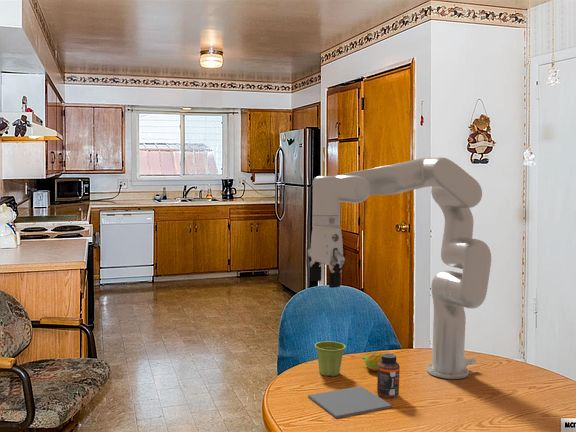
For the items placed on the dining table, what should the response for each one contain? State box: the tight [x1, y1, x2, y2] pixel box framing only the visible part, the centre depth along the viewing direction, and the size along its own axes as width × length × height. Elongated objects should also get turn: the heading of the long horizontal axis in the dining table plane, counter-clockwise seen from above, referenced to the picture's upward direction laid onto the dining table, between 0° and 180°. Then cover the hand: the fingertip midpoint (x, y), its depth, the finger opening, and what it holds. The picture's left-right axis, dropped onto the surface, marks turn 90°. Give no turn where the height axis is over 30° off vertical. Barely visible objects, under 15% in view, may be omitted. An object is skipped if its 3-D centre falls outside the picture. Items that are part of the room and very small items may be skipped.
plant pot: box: [314, 340, 347, 377], centre depth 179 cm, size 9×9×9 cm
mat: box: [307, 385, 393, 419], centre depth 156 cm, size 17×15×1 cm
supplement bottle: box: [376, 353, 400, 399], centre depth 161 cm, size 6×6×11 cm
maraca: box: [362, 352, 382, 372], centre depth 183 cm, size 7×10×5 cm
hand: (324, 284), depth 159 cm, fingers open, 9 cm apart
